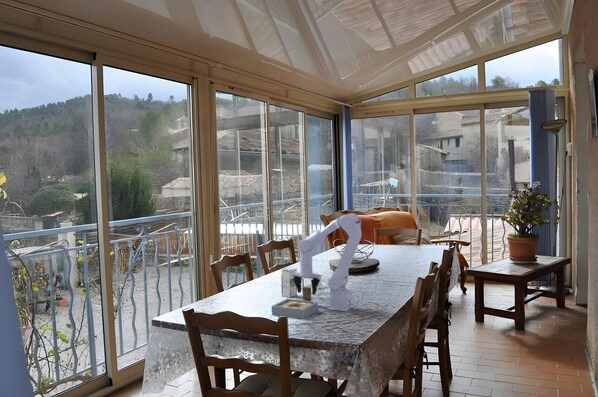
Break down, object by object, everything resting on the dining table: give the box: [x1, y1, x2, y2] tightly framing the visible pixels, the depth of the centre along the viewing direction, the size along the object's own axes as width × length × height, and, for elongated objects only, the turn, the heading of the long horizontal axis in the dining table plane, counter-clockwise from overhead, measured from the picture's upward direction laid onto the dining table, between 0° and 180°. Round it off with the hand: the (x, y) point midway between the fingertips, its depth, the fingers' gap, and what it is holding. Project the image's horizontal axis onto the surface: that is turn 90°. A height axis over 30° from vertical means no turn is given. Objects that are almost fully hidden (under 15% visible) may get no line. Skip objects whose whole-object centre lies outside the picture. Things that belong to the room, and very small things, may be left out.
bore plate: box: [281, 301, 311, 309], centre depth 222 cm, size 11×11×3 cm
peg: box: [302, 286, 312, 301], centre depth 235 cm, size 4×4×8 cm
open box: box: [271, 298, 319, 320], centre depth 222 cm, size 16×14×4 cm
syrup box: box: [280, 266, 298, 299], centre depth 253 cm, size 6×6×14 cm
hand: (306, 293), depth 235 cm, fingers open, 7 cm apart
